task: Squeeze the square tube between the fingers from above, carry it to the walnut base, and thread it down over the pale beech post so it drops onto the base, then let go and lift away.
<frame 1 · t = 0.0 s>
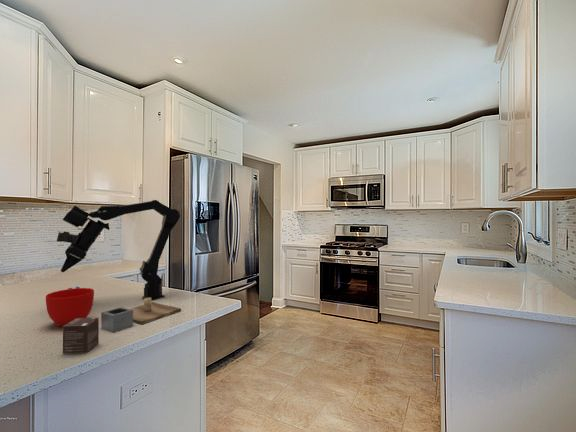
hand: (63, 269, 115), 15 cm above the countertop, fingers open, 9 cm apart
gear: (76, 308, 117), on the countertop
box: (81, 349, 81), on the countertop
square tube: (117, 326, 97), on the countertop
post base: (147, 313, 110), on the countertop
ceramic cup: (73, 321, 102), on the countertop
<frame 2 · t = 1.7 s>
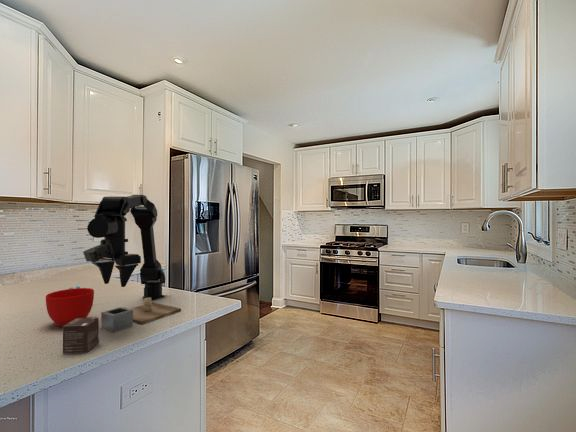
hand: (114, 285, 97), 13 cm above the countertop, fingers open, 9 cm apart
nothing on the countertop moved.
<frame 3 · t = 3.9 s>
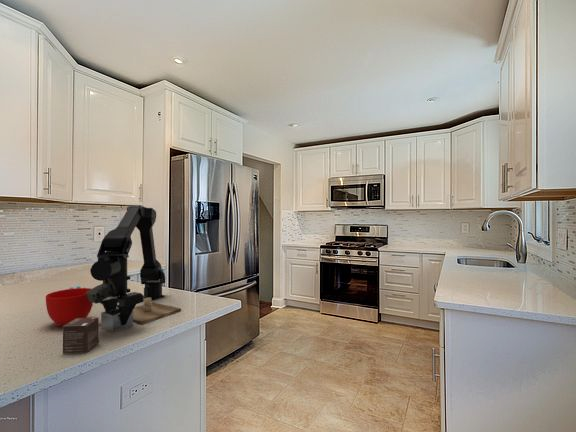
hand: (117, 323, 97), 1 cm above the countertop, fingers closed on square tube, 6 cm apart
square tube: (117, 326, 97), on the countertop, touching gripper
everything else where it was.
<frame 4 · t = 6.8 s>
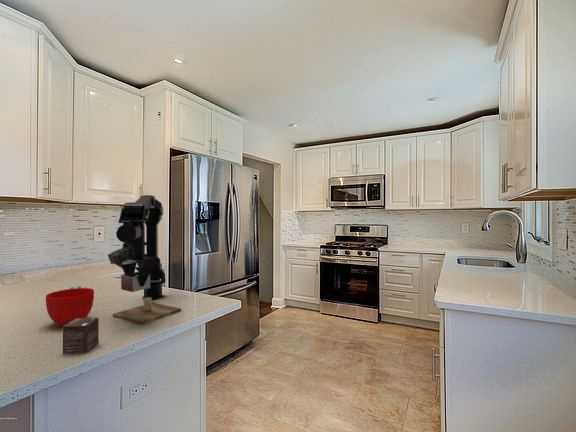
hand: (135, 285, 105), 11 cm above the countertop, fingers closed on square tube, 6 cm apart
square tube: (135, 288, 105), point 10 cm above the countertop, touching gripper
everything else where it was.
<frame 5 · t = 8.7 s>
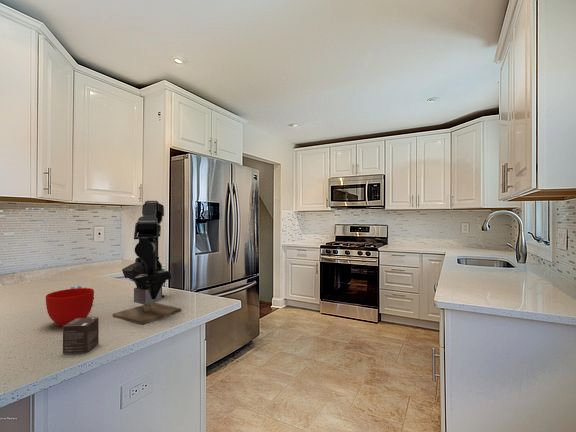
hand: (147, 297, 110), 6 cm above the countertop, fingers closed on square tube, 6 cm apart
square tube: (147, 301, 110), point 4 cm above the countertop, touching gripper
everything else where it was.
when the fingers open (4 cm above the countertop, at t = 10.2 s): square tube drops 1 cm, resting on post base.
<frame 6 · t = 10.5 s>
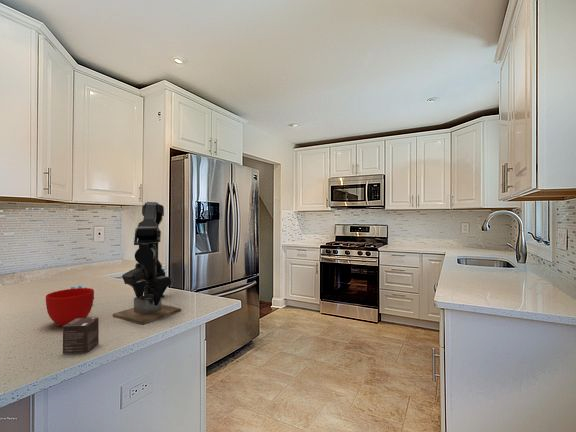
hand: (147, 303, 110), 4 cm above the countertop, fingers open, 9 cm apart
square tube: (147, 310, 110), point 1 cm above the countertop, touching post base
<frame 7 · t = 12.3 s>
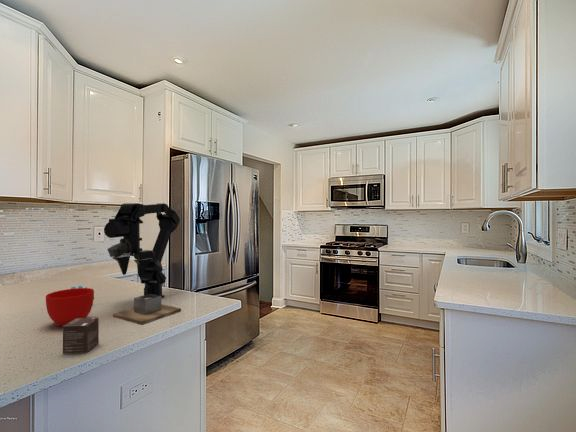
hand: (132, 275, 119), 12 cm above the countertop, fingers open, 9 cm apart
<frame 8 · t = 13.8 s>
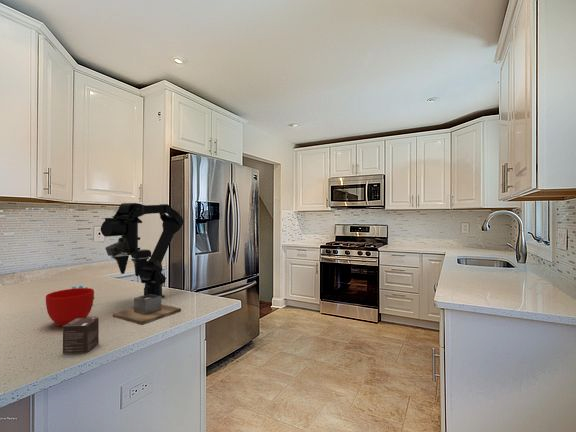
hand: (129, 274, 120), 12 cm above the countertop, fingers open, 9 cm apart
at the end: square tube 0.0 cm off-centre on the post base, point 1.0 cm above the post base's base; square tube tilted 0°; the gripper is holding nothing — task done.
